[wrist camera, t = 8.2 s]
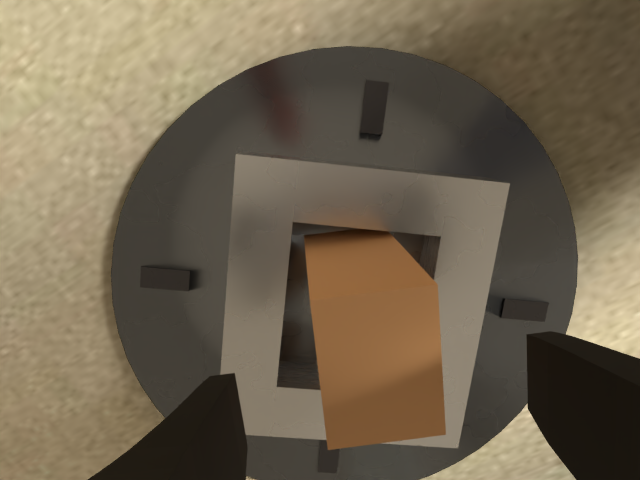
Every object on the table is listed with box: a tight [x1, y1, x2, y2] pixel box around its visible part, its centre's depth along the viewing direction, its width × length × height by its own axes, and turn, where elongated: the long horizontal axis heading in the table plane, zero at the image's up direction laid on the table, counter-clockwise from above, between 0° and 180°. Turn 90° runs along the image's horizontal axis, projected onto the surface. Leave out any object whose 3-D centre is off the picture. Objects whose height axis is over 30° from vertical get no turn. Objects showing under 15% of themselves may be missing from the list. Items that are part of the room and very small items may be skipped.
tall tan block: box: [304, 229, 446, 450], centre depth 15 cm, size 3×4×7 cm
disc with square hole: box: [111, 46, 578, 480], centre depth 18 cm, size 18×18×3 cm
